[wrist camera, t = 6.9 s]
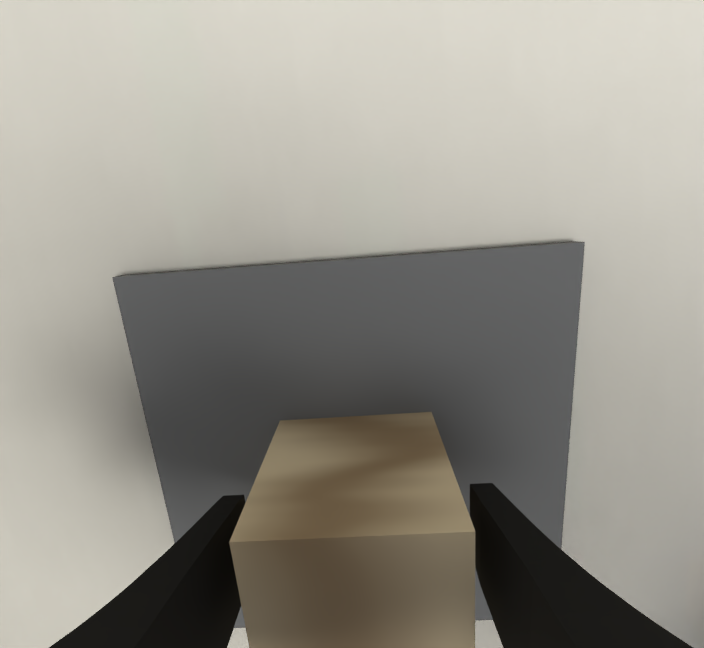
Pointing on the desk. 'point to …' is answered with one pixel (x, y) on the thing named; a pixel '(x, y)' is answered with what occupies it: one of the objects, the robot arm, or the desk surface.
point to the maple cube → (356, 538)
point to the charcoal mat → (362, 366)
